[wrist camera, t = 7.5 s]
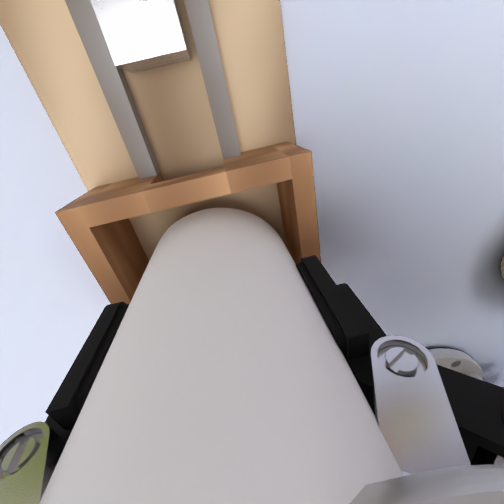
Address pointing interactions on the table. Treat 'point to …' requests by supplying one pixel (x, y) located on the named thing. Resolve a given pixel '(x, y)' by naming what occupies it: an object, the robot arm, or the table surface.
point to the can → (222, 385)
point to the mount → (168, 129)
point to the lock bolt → (142, 33)
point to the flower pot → (502, 267)
